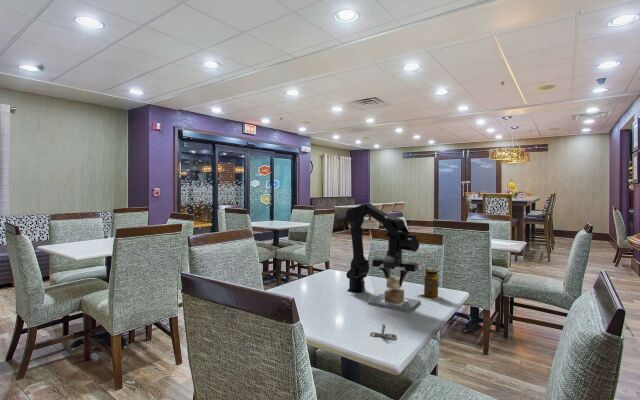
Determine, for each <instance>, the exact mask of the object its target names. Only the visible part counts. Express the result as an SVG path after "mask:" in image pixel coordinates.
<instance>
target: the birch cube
mask: <svg viewBox="0 0 640 400" xmlns="http://www.w3.org/2000/svg"><path fill="white" fill-rule="evenodd" d="M402 287H403V284H402V285H401V286H400V276H396V275H390V277H388V278H387V280H386V288H387V289H389V288H392V289H401V288H402Z"/></svg>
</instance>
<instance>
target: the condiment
mask: <svg viewBox="0 0 640 400" xmlns="http://www.w3.org/2000/svg"><path fill="white" fill-rule="evenodd" d="M438 274H439V273H438V270H436V269H426V270H425V275H424V282H423V285H424V286H423V288H424V289H423V293H422V294H418V295H416V296H417V297H420V298H422V299H424V300H428V301H432V300H437V299H440V298H442V296H440V295H439V277H438Z"/></svg>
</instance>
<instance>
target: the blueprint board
mask: <svg viewBox="0 0 640 400" xmlns="http://www.w3.org/2000/svg"><path fill="white" fill-rule="evenodd" d="M419 304H421V300H420V299H414V298H409V297H408V298H407V297H404V300H403V301H402V302H401V303H399V304H393V303H388V302H385V293H379V294H378V295H376V296H374V297H373V298H372V299H370V300H369V301H368V302H367V305H371V306H376V307H382V308H387V309H392V310H396V311H399V312H400V311H401V312H406V313H411V312H412V311H413V310H414V309H416V308H417V306H418V305H419Z"/></svg>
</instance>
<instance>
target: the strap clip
mask: <svg viewBox="0 0 640 400" xmlns="http://www.w3.org/2000/svg"><path fill="white" fill-rule="evenodd" d="M381 327H382V328H381V333H380V332H373V331H372V332H371V333H370V334H369V336H370V337H374V338H379V337H380V338H384V339H385V338H386V339H385V340H391V339H393V340H392V341H396V340H395V339H397V335H396V334H393V333H387V332H386V333H385V329H386V324H385V323H382V324H381ZM374 333H375V334H374ZM393 336H394V337H393Z"/></svg>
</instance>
